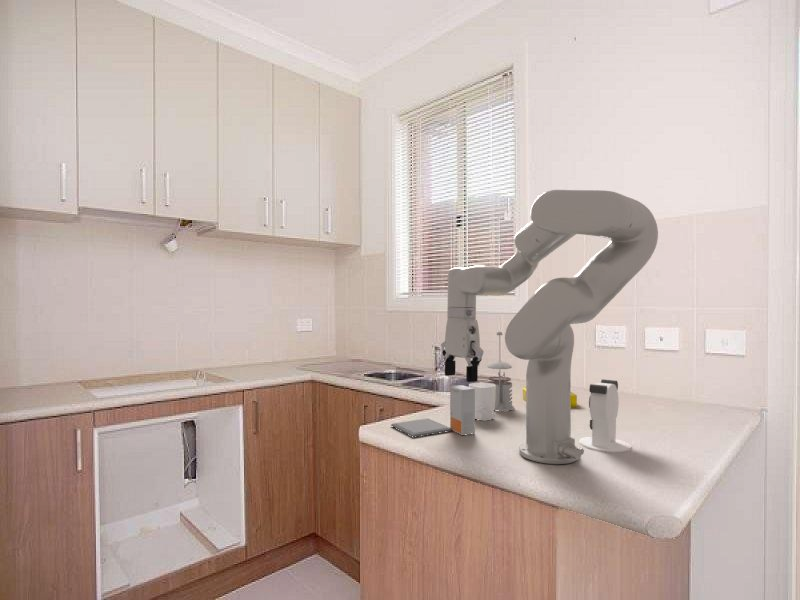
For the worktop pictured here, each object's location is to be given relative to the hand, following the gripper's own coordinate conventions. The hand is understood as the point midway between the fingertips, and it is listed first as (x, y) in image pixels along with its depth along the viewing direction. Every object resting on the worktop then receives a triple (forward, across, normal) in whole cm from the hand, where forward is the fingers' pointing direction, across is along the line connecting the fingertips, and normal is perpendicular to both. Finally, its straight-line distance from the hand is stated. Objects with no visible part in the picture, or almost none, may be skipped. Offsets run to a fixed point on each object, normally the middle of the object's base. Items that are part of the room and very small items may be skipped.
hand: (460, 378), depth 120 cm
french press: (+15, +15, -27) cm, 34 cm away
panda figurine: (+14, -26, -24) cm, 38 cm away
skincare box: (+14, -1, 0) cm, 15 cm away
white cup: (+15, +8, -14) cm, 22 cm away
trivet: (+14, +7, +8) cm, 18 cm away
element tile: (+15, +14, -48) cm, 52 cm away
